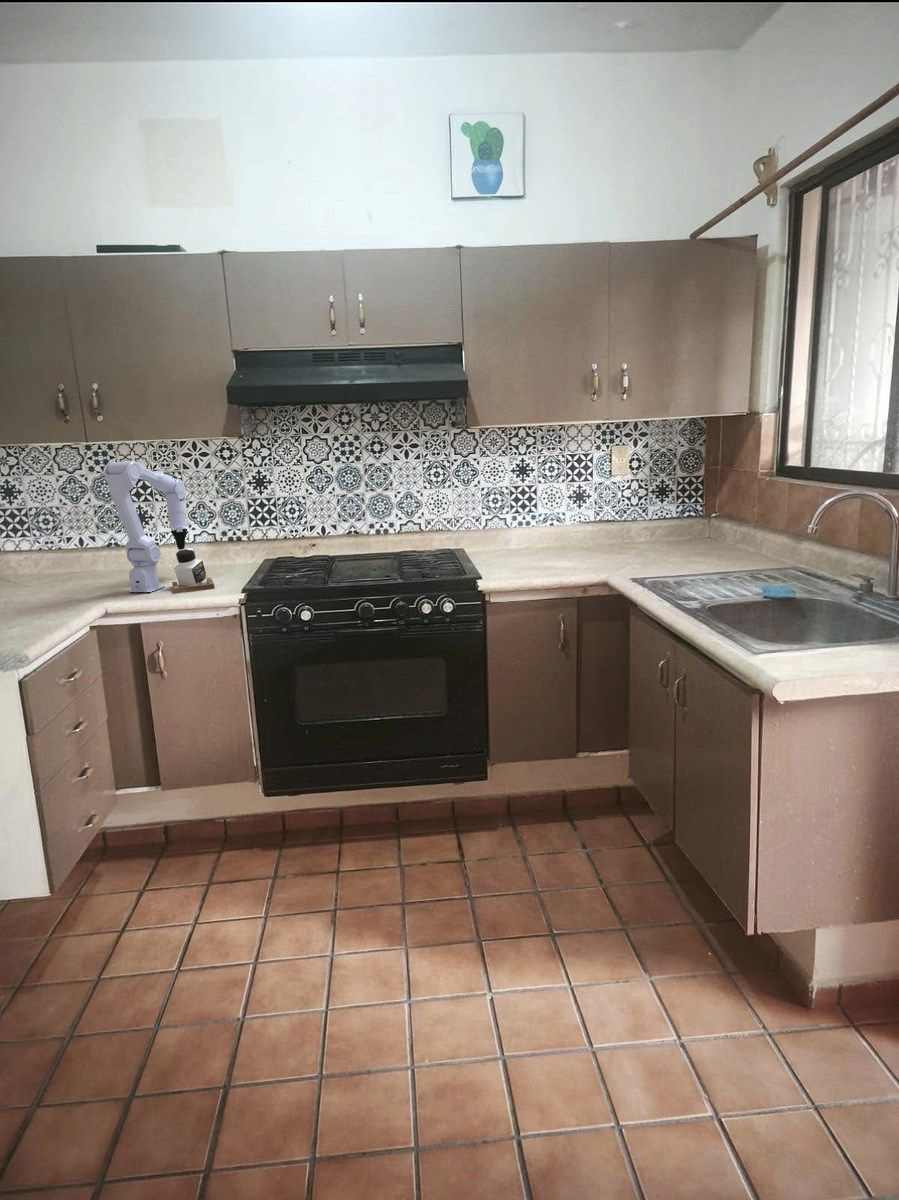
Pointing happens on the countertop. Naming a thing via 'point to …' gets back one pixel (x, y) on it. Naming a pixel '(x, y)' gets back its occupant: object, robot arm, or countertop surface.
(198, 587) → the walnut frame
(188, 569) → the medicine bottle
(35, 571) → the countertop surface
